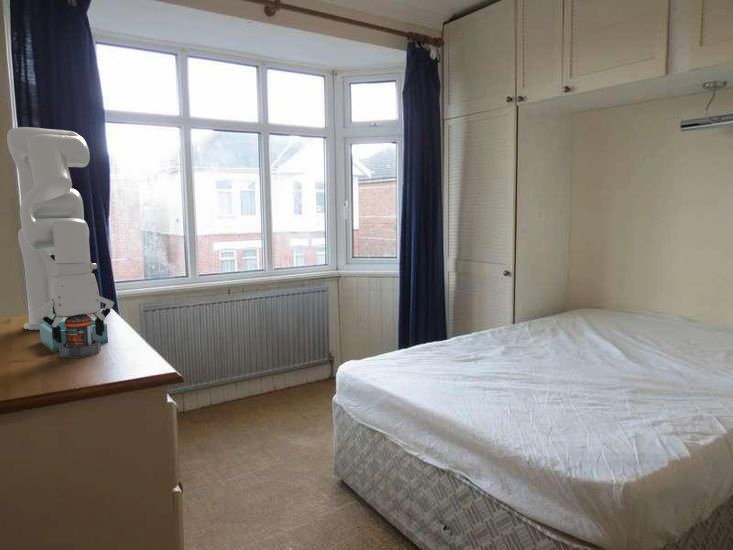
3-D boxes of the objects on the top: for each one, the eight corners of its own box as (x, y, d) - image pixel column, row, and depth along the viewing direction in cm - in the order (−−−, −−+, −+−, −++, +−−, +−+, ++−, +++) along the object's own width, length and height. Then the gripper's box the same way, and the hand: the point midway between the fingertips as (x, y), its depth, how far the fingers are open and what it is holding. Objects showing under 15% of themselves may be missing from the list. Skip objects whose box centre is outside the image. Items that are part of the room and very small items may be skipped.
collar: (55, 353, 127) (55, 343, 127) (94, 346, 133) (93, 337, 133) (65, 360, 121) (64, 350, 120) (105, 353, 127) (104, 343, 127)
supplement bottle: (63, 357, 123) (59, 311, 122) (70, 351, 129) (67, 307, 128) (90, 355, 125) (87, 310, 123) (96, 349, 131) (93, 306, 129)
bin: (40, 342, 138) (39, 324, 137) (93, 334, 147) (91, 317, 146) (53, 351, 128) (51, 332, 128) (108, 342, 137) (106, 324, 137)
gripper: (106, 265, 133) (111, 330, 135) (28, 271, 121) (35, 342, 123) (116, 267, 128) (121, 334, 130) (36, 274, 116) (42, 348, 118)
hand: (79, 338), depth 126 cm, fingers open, 8 cm apart
